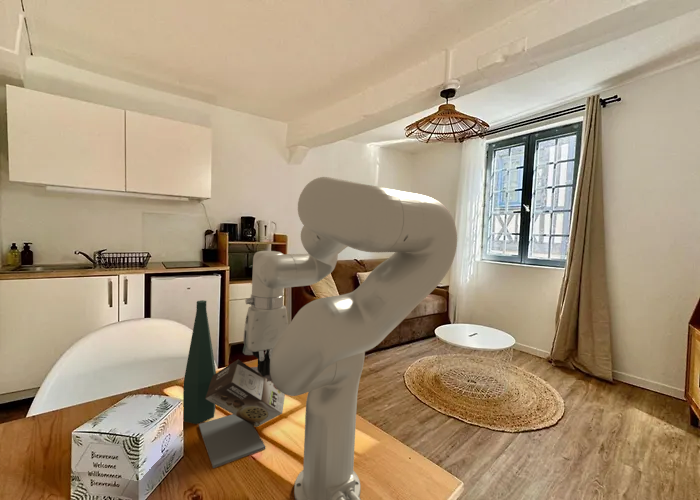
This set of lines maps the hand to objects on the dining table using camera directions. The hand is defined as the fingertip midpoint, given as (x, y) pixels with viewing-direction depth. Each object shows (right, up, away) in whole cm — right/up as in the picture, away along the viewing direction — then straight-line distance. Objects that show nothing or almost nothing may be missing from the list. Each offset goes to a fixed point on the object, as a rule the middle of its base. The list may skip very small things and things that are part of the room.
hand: (264, 373), depth 79 cm
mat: (-7, -13, -5) cm, 16 cm away
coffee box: (+2, -10, +1) cm, 10 cm away
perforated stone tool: (-8, -12, +18) cm, 23 cm away
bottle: (-18, -12, +3) cm, 22 cm away
